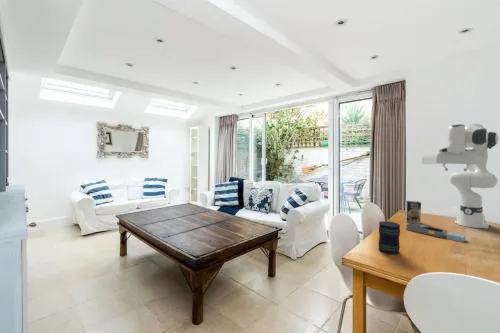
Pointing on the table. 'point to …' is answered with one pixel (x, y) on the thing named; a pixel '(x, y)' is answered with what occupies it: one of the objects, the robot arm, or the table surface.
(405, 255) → the table surface
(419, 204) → the coffee box
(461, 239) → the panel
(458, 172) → the robot arm
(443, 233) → the rack
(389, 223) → the storage jar
